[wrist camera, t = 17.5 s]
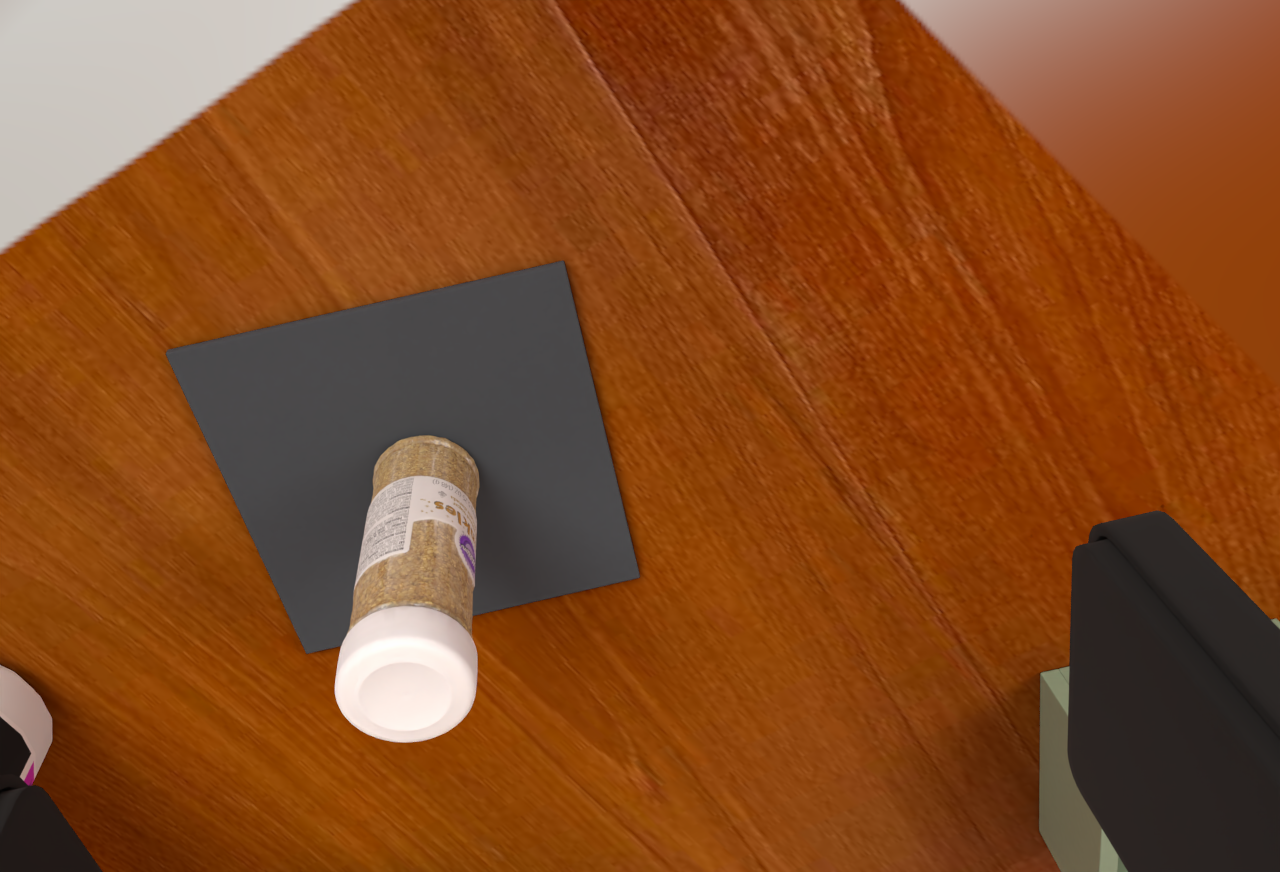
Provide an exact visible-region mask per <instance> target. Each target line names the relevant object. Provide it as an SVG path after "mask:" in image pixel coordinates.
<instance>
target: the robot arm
mask: <svg viewBox="0 0 1280 872" xmlns="http://www.w3.org/2000/svg"><path fill="white" fill-rule="evenodd" d="M1067 752H1068V760H1069V765H1070V769H1071V772H1072V775H1073V778H1074V780H1075V783H1076V785H1077V787H1078V789H1079V791H1080V793H1081V795H1082V796H1083V798H1084V800H1085V801H1086V803H1087V805H1088V806H1089V808H1090V810H1091V811H1092V813H1093V815H1094V816H1095V818H1096V820H1097V821H1098V823H1099V825H1100V826H1101V828H1102V830H1103V831H1104V833H1105V835H1106V836H1107V838H1108V840H1109V841H1110V843H1111V845H1112V846H1113V848H1114V850H1115V851H1116V853H1117V854H1118V856H1119V858H1120V859H1121V861H1122V863H1123V864H1124V866H1125V868H1126V869H1127V871H1128V872H1280V629H1279V628H1278V627H1277V626H1276V625H1275V624H1274V623H1273V622H1272V621H1271V620H1270V619H1269V617H1268V616H1267V615H1266V614H1265V613H1264V612H1263V611H1262V610H1261V609H1260V608H1259V607H1258V606H1257V605H1256V604H1255V603H1254V602H1253V601H1252V600H1251V599H1250V598H1249V597H1248V596H1247V595H1246V594H1245V593H1244V592H1243V591H1242V590H1241V589H1240V588H1239V586H1238V585H1237V584H1236V583H1235V582H1234V581H1233V580H1232V579H1231V578H1230V577H1229V576H1228V575H1227V574H1226V573H1225V572H1224V571H1223V570H1222V569H1221V568H1220V567H1219V566H1218V565H1217V564H1216V563H1215V562H1214V561H1213V560H1212V559H1211V558H1210V557H1209V555H1208V554H1207V553H1206V552H1205V551H1204V550H1203V549H1202V548H1201V547H1200V546H1199V545H1198V544H1197V543H1196V542H1195V541H1194V540H1193V539H1192V538H1191V537H1190V536H1189V535H1188V534H1187V533H1186V532H1185V531H1184V530H1183V529H1182V528H1181V527H1180V526H1179V524H1178V523H1177V522H1176V521H1175V520H1174V519H1172V518H1171V517H1170V516H1169V515H1167V514H1166V513H1165V512H1161V511H1153V512H1149V513H1144V514H1140V515H1136V516H1131V517H1127V518H1122V519H1118V520H1114V521H1109V522H1105V523H1101V524H1098V525H1095V526H1093V528H1092V530H1091V532H1090V535H1089V541H1088V543H1087V544H1083V545H1079V546H1077V547H1076V548H1075V550H1074V551H1073V558H1072V592H1071V629H1070V667H1069V705H1068V742H1067ZM0 872H102V870H101V869H100V867H99V866H98V865H97V863H96V862H95V860H94V859H93V858H92V856H91V855H90V853H89V852H88V850H87V849H86V848H85V846H84V845H83V843H82V842H81V840H80V839H79V838H78V836H77V835H76V833H75V832H74V830H73V829H72V828H71V826H70V825H69V823H68V822H67V821H66V819H65V818H64V816H63V815H62V813H61V812H60V811H59V809H58V808H57V806H56V805H55V803H54V802H53V801H52V799H51V798H50V796H49V795H48V794H47V793H46V792H45V790H44V789H43V788H41V787H39V786H36V785H33V786H28V785H27V784H26V783H25V782H24V781H23V780H22V778H20V777H18V776H15V775H13V774H7V775H0Z"/></svg>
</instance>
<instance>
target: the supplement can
mask: <svg viewBox="0 0 1280 872" xmlns="http://www.w3.org/2000/svg"><path fill="white" fill-rule="evenodd" d="M51 743H52V717H51V715H50V714H49V712H48V710H47V708H46V706H45V704H44V702H43V700H42V698H41V696H40V695H39V694H37V693H36V692H35V690H34V689H33V688H32V687H31V686H30V685H29V684H28V683H26V682H25V681H24V680H23V679H22V678H21V677H20V676H19V675H18V674H16V673H15V672H14V671H12V670H10V669H8V668H5V667H3V666H1V665H0V775H7V774H13V775H15V776H18V777H20V778H22V780H23V781H24V782H25V783H26V784H27V785H28V786H32V784H33V781H34V779H35V777H36V775H37V773H38V771H39V769H40V766H41V764H42V762H43V760H44V758H45V756H46V754H47V751H48V749H49V747H50V745H51Z"/></svg>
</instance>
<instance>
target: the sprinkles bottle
mask: <svg viewBox="0 0 1280 872" xmlns="http://www.w3.org/2000/svg"><path fill="white" fill-rule="evenodd" d="M373 488H374V489H373V496H372V501H371V505H370V507H369V510H368V513H367V518H366V524H365V530H364V536H363V541H362V547H361V553H360V558H359V564H358V570H357V575H356V581H355V587H354V594H353V610H352V615H351V621H350V627H349V630H348V632H347V636H346V637H345V639H344V641H343V643H342V646H341V649H340V654H339V659H338V665H337V672H336V679H335V696H336V701H337V703H338V706H339V708H340V710H341V712H342V713H343V715H344V716H345V717H346V718H347V720H348V721H349V722H350V723H351V724H352V725H354V726H355V727H356V728H358V729H359V730H361V731H362V732H364V733H366V734H368V735H370V736H373V737H376V738H379V739H382V740H386V741H392V742H418V741H424V740H428V739H431V738H434V737H437V736H439V735H442V734H444V733H446V732H447V731H449V730H451V729H452V728H454V727H455V726H456V725H457V724H459V723H460V722H461V721H462V720H463V719H464V717H465V716H466V715H467V714H468V712H469V711H470V709H471V707H472V705H473V702H474V699H475V695H476V686H477V667H478V658H477V650H476V647H475V644H474V642H473V638H472V617H473V616H472V612H473V590H474V587H475V560H476V535H477V519H476V498H477V496H478V491H479V473H478V469H477V466H476V464H475V462H474V459H473V458H472V457H471V456H470V455H469V454H468V453H467V451H466V450H464V449H463V448H462V447H460V446H459V445H457V444H456V443H454V442H451V441H450V440H448V439H446V438H443V437H440V438H439V437H436V436H430V435H423V436H414V437H409V438H406V439H402V440H399V441H398V442H396V443H395V444H394V445H392V446H391V447H389V448H388V449H387V450H386V451H385V452H384V453H383V454H382V455H381V456H380V458H379V459H378V461H377V463H376V465H375V468H374V475H373Z"/></svg>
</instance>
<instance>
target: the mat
mask: <svg viewBox="0 0 1280 872" xmlns="http://www.w3.org/2000/svg"><path fill="white" fill-rule="evenodd" d="M166 356H167V358H168V360H169V362H170V365H171V367H172V369H173V371H174V373H175V375H176V377H177V379H178V382H179V384H180V386H181V388H182V390H183V392H184V394H185V396H186V399H187V401H188V403H189V405H190V407H191V409H192V411H193V414H194V416H195V418H196V420H197V422H198V424H199V426H200V428H201V431H202V433H203V435H204V437H205V439H206V441H207V443H208V445H209V448H210V450H211V452H212V454H213V456H214V458H215V460H216V462H217V465H218V467H219V469H220V471H221V473H222V475H223V477H224V479H225V482H226V484H227V486H228V488H229V490H230V492H231V494H232V496H233V499H234V501H235V503H236V505H237V507H238V509H239V511H240V513H241V516H242V518H243V520H244V522H245V524H246V526H247V528H248V530H249V533H250V535H251V537H252V539H253V541H254V543H255V545H256V548H257V550H258V552H259V554H260V556H261V558H262V560H263V562H264V565H265V567H266V569H267V571H268V573H269V575H270V577H271V579H272V582H273V584H274V586H275V588H276V590H277V592H278V594H279V596H280V599H281V601H282V603H283V605H284V607H285V609H286V611H287V613H288V616H289V618H290V620H291V622H292V624H293V626H294V628H295V630H296V633H297V635H298V637H299V639H300V641H301V643H302V645H303V647H304V650H305V652H306V654H308V653H313V652H317V651H321V650H326V649H330V648H334V647H339V646H342V643H343V641H344V639H345V637H346V636H347V632H348V630H349V627H350V621H351V615H352V610H353V594H354V587H355V581H356V575H357V570H358V564H359V558H360V553H361V547H362V541H363V536H364V530H365V524H366V518H367V513H368V510H369V507H370V505H371V501H372V496H373V489H374V488H373V475H374V468H375V465H376V463H377V461H378V459H379V458H380V456H381V455H382V454H383V453H384V452H385V451H386V450H387V449H388V448H389V447H391V446H392V445H394V444H395V443H396V442H398V441H399V440H402V439H406V438H409V437H414V436H423V435H430V436H436V437H439V438H440V437H443V438H446V439H448V440H450V441H451V442H454V443H456V444H457V445H459V446H460V447H462V448H463V449H464V450H466V451H467V453H468V454H469V455H470V456H471V457H472V458H473V459H474V462H475V464H476V466H477V469H478V473H479V491H478V496H477V498H476V519H477V535H476V560H475V587H474V590H473V612H472V616H474V615H479V614H483V613H488V612H492V611H496V610H501V609H505V608H509V607H514V606H518V605H523V604H527V603H531V602H536V601H540V600H544V599H549V598H553V597H558V596H562V595H566V594H571V593H575V592H579V591H584V590H588V589H593V588H597V587H601V586H606V585H610V584H614V583H619V582H623V581H628V580H632V579H636V578H640V574H639V570H638V565H637V561H636V557H635V553H634V549H633V545H632V541H631V536H630V532H629V528H628V524H627V520H626V516H625V512H624V507H623V503H622V499H621V495H620V491H619V487H618V482H617V478H616V474H615V470H614V466H613V462H612V458H611V453H610V449H609V445H608V441H607V437H606V433H605V428H604V424H603V420H602V416H601V412H600V408H599V404H598V399H597V395H596V391H595V387H594V383H593V379H592V375H591V370H590V366H589V362H588V358H587V354H586V350H585V345H584V341H583V337H582V333H581V329H580V325H579V321H578V316H577V312H576V308H575V304H574V300H573V296H572V292H571V287H570V283H569V279H568V275H567V271H566V267H565V262H564V261H560V262H555V263H551V264H546V265H542V266H537V267H533V268H529V269H524V270H520V271H515V272H511V273H506V274H502V275H498V276H493V277H489V278H484V279H480V280H475V281H471V282H467V283H462V284H458V285H453V286H449V287H444V288H440V289H435V290H431V291H427V292H422V293H418V294H413V295H409V296H404V297H400V298H396V299H391V300H387V301H382V302H378V303H373V304H369V305H365V306H360V307H356V308H351V309H347V310H342V311H338V312H334V313H329V314H325V315H320V316H316V317H311V318H307V319H303V320H298V321H294V322H289V323H285V324H280V325H276V326H272V327H267V328H263V329H258V330H254V331H249V332H245V333H241V334H236V335H232V336H227V337H223V338H218V339H214V340H210V341H205V342H201V343H196V344H192V345H187V346H183V347H179V348H174V349H170V350H168V351H167V352H166Z"/></svg>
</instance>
